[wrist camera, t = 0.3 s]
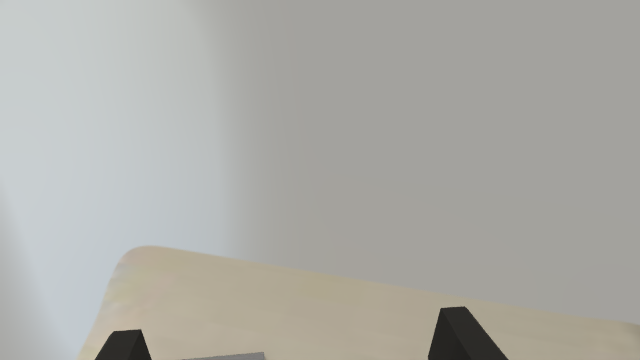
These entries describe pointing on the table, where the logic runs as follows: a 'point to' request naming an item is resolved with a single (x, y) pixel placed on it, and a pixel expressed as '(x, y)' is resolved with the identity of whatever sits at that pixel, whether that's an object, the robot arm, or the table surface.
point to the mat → (235, 357)
